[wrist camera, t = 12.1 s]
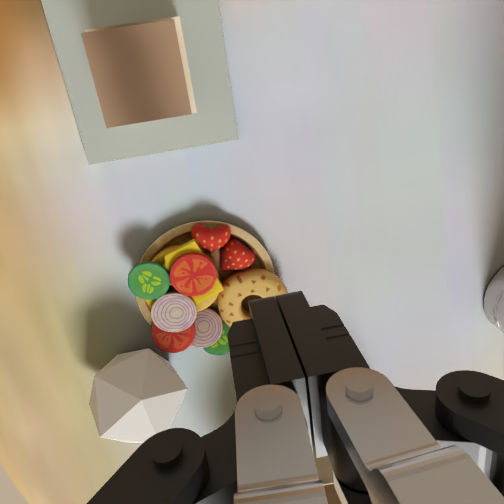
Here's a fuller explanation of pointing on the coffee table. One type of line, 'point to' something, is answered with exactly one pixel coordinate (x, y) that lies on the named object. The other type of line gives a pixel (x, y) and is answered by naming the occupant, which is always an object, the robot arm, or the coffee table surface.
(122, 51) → the walnut cube
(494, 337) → the coffee table surface
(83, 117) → the board
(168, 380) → the die
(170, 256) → the toy food set
